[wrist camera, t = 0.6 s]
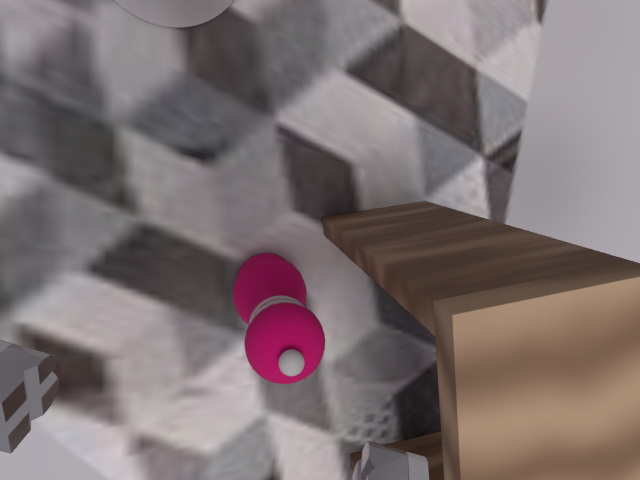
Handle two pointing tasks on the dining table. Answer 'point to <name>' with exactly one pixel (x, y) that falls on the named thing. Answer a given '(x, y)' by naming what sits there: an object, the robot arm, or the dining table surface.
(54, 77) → the dining table surface
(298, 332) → the pepper mill
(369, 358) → the dining table surface
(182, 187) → the dining table surface
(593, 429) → the arch
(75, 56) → the dining table surface
